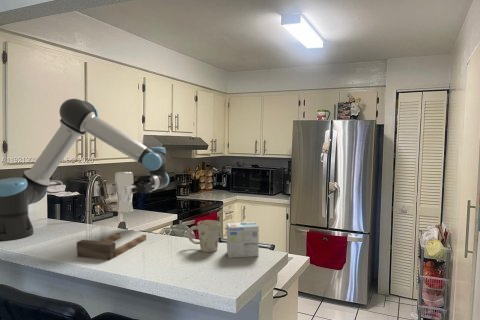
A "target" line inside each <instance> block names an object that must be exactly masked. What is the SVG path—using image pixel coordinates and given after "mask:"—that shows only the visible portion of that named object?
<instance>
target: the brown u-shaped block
mask: <svg viewBox="0 0 480 320" xmlns="http://www.w3.org/2000/svg"><path fill="white" fill-rule="evenodd" d="M121 235H122V234H121V232H116V233H114V234H111V235H108V236H107V237H105V238H102V239H100V240H90V239H81V240H77V241H76V256H77V258H78V257H80V258H90V259H99V260H100V259H101V260H110V261H111V260H113V259H115V258H116V257H118V256H120V255H122V254H123V253H125V252H127V251H128V250H131V249H132V248H134V247H136V246H138V245H140V244H142V243H144V242H146V241H147V234H142V235H139V236H137V237H135V238H134V239H132V240H129V241H128V242H126V243H124V244H122V245H120V246H118V247H116V245H117V244H116V241H117V240H120V239H121V237H122V236H121ZM141 242H142V243H141ZM139 243H140V244H139ZM137 244H138V245H137Z"/></svg>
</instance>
